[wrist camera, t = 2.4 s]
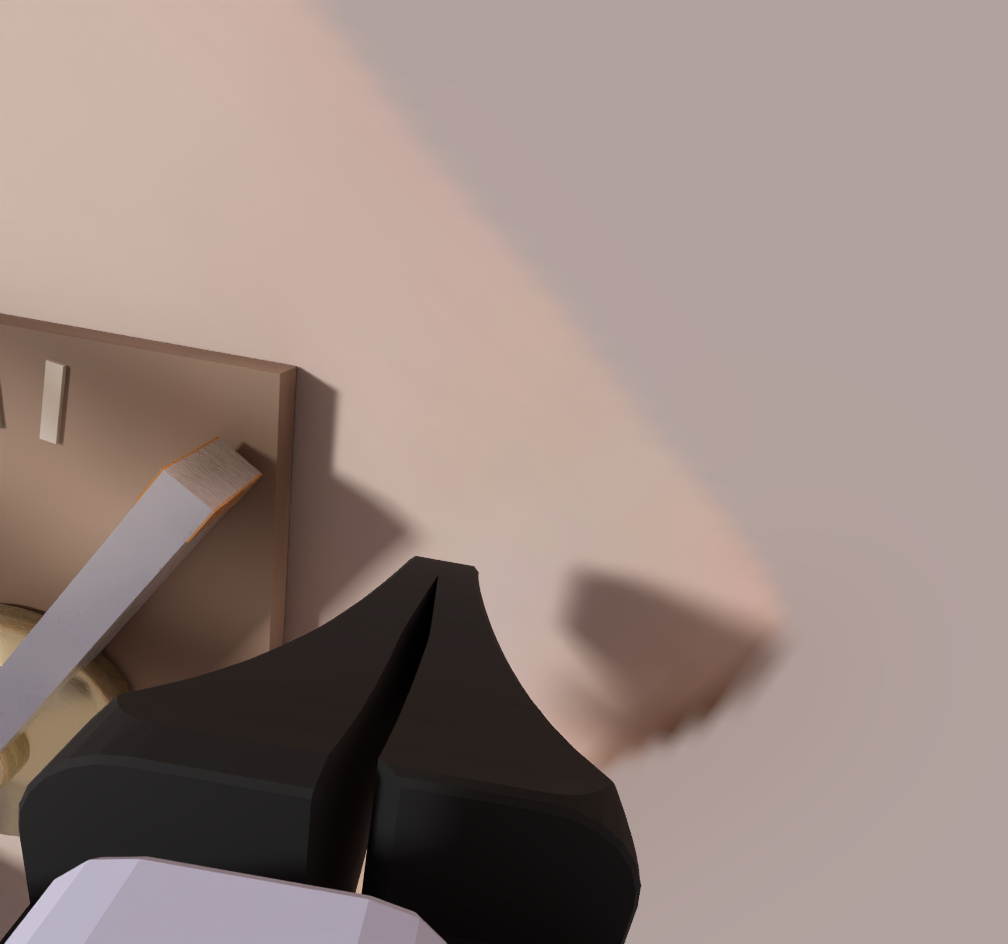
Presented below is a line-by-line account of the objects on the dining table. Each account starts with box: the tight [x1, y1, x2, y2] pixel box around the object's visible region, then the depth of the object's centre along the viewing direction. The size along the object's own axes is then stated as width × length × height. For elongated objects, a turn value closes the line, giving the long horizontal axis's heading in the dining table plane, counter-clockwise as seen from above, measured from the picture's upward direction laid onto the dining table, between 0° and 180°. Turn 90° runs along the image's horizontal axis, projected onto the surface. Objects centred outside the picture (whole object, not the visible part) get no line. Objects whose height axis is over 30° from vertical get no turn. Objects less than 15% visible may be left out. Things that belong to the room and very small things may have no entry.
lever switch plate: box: [0, 314, 297, 692], centre depth 17 cm, size 16×12×1 cm
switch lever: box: [0, 437, 263, 836], centre depth 15 cm, size 14×7×2 cm, turn 135°
